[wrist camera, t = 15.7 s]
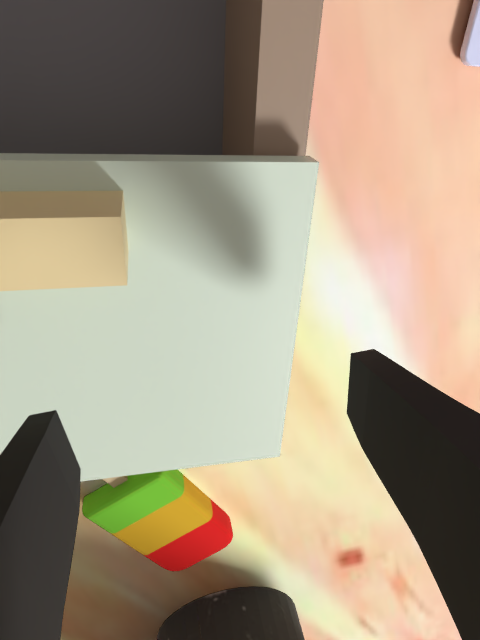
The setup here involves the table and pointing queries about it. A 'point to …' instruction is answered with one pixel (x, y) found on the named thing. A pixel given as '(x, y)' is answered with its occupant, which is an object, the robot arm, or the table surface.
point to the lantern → (235, 617)
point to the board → (157, 76)
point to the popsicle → (160, 517)
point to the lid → (152, 303)
